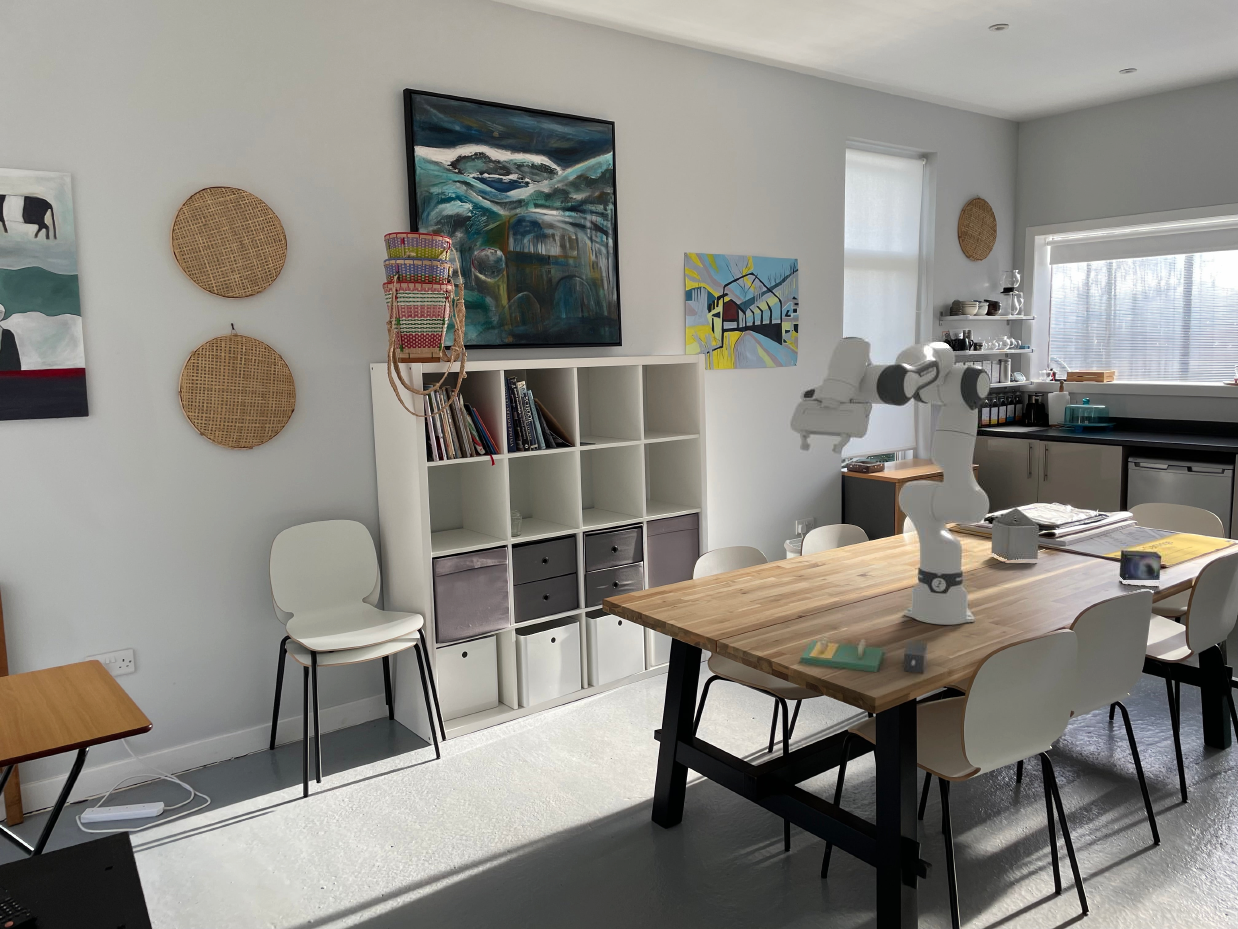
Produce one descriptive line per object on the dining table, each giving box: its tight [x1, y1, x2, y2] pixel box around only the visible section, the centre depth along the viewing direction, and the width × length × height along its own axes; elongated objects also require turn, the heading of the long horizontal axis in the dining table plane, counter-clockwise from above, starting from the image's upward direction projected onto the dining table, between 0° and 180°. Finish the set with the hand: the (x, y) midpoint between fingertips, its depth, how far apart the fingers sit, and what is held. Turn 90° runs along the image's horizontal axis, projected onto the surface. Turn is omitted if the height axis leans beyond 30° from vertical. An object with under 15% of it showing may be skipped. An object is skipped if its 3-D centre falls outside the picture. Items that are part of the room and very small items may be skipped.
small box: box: [1119, 549, 1162, 580], centre depth 291 cm, size 11×6×10 cm, turn 73°
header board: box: [800, 635, 885, 673], centre depth 221 cm, size 14×18×4 cm
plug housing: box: [903, 640, 928, 674], centre depth 215 cm, size 13×4×4 cm, turn 157°
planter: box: [991, 507, 1040, 560], centre depth 324 cm, size 16×8×19 cm, turn 48°
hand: (819, 451), depth 214 cm, fingers open, 8 cm apart
